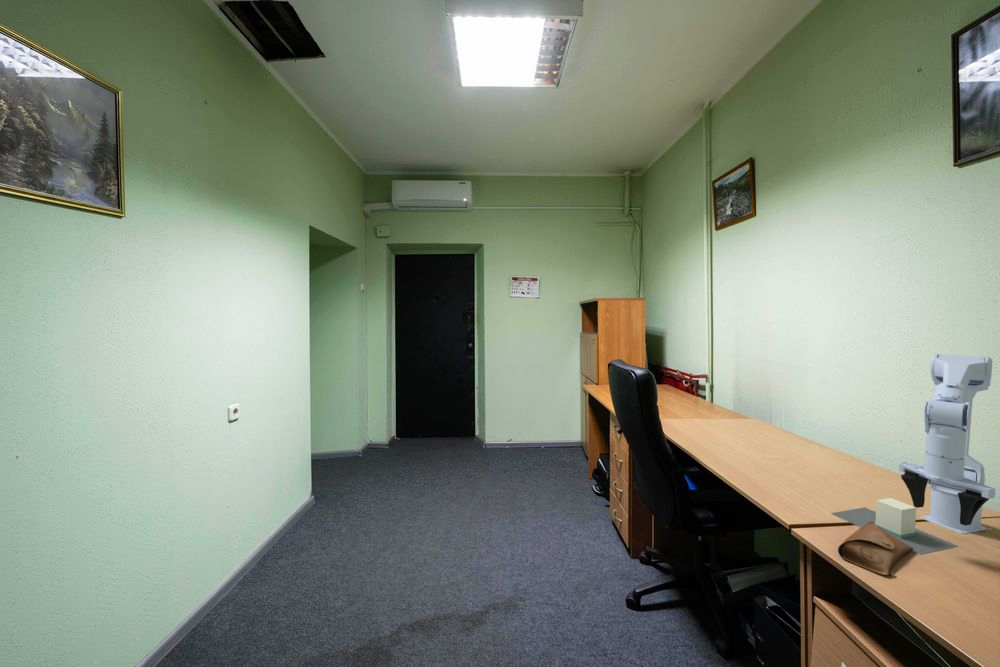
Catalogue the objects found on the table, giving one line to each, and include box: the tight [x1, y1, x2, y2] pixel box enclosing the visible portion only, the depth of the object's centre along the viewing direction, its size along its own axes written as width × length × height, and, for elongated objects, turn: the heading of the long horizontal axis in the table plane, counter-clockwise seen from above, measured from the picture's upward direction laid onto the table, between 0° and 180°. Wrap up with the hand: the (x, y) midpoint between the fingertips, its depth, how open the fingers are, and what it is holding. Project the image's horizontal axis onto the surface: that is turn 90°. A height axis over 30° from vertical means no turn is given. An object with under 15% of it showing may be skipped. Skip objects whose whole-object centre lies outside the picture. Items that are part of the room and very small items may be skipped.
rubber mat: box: [830, 506, 959, 556], centre depth 96 cm, size 13×18×1 cm
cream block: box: [875, 497, 917, 538], centre depth 94 cm, size 5×5×7 cm
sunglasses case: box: [837, 521, 914, 576], centre depth 86 cm, size 18×7×7 cm, turn 121°
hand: (941, 515), depth 85 cm, fingers open, 7 cm apart
